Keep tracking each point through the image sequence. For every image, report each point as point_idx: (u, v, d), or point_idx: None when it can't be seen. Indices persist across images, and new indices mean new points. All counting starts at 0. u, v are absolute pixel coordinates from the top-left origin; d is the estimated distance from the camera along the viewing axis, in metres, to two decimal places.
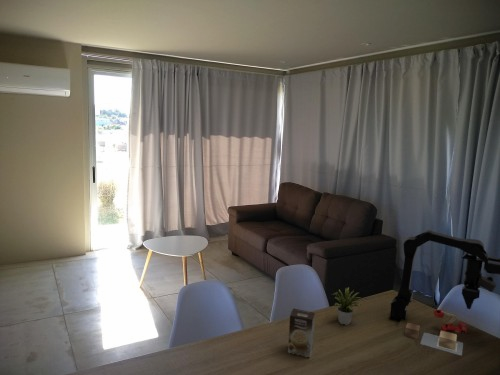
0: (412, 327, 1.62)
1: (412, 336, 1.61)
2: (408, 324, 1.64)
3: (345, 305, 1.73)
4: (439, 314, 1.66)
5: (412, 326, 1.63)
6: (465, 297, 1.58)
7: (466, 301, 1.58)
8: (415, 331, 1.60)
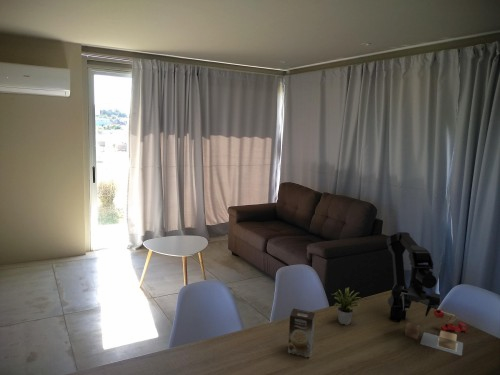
0: (412, 327, 1.62)
1: (412, 336, 1.61)
2: (408, 324, 1.64)
3: (345, 305, 1.73)
4: (439, 314, 1.66)
5: (412, 326, 1.63)
6: None
7: None
8: (415, 331, 1.60)
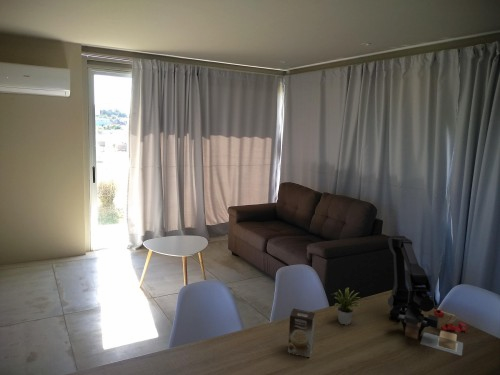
0: (412, 327, 1.62)
1: (412, 336, 1.61)
2: (408, 324, 1.64)
3: (345, 305, 1.73)
4: (439, 314, 1.66)
5: (412, 326, 1.63)
6: None
7: None
8: (415, 331, 1.60)
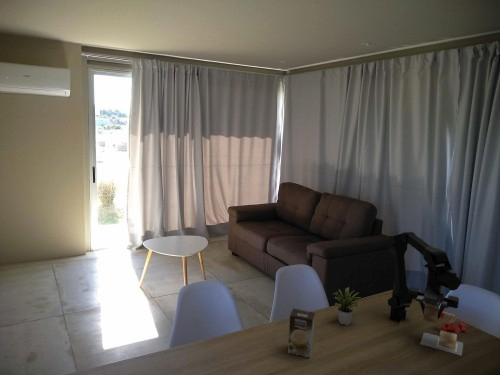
0: (431, 308, 1.56)
1: (431, 317, 1.55)
2: (427, 306, 1.59)
3: (345, 305, 1.73)
4: None
5: (431, 307, 1.58)
6: None
7: None
8: (434, 312, 1.55)
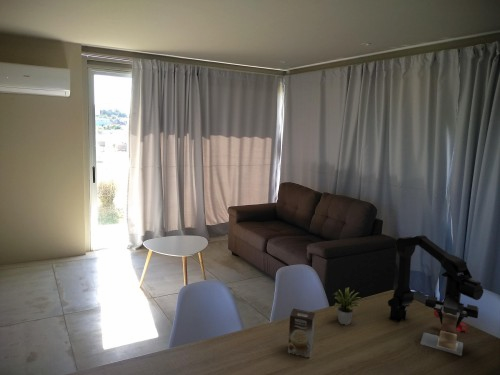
0: (450, 318, 1.53)
1: (450, 327, 1.53)
2: (445, 314, 1.56)
3: (345, 305, 1.73)
4: None
5: (449, 316, 1.55)
6: None
7: None
8: (453, 321, 1.52)
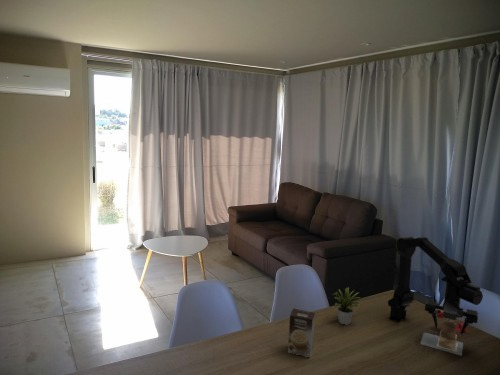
0: (449, 325, 1.54)
1: (449, 334, 1.53)
2: (444, 322, 1.57)
3: (345, 305, 1.73)
4: (439, 314, 1.66)
5: (448, 324, 1.55)
6: None
7: None
8: (452, 329, 1.52)
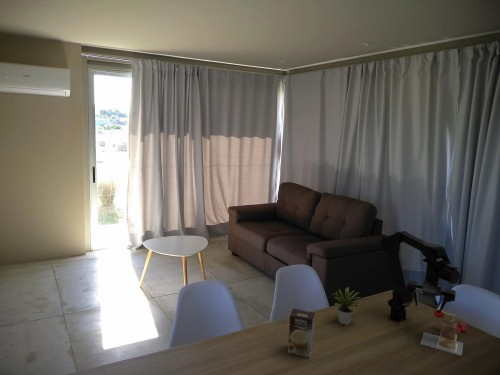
0: (449, 325, 1.54)
1: (449, 334, 1.53)
2: (444, 322, 1.57)
3: (345, 305, 1.73)
4: (439, 314, 1.66)
5: (448, 324, 1.55)
6: None
7: None
8: (452, 329, 1.52)
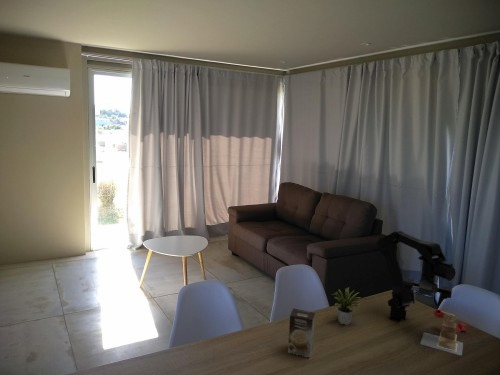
0: (449, 325, 1.54)
1: (449, 334, 1.53)
2: (444, 322, 1.57)
3: (345, 305, 1.73)
4: (439, 314, 1.66)
5: (448, 324, 1.55)
6: None
7: None
8: (452, 329, 1.52)
